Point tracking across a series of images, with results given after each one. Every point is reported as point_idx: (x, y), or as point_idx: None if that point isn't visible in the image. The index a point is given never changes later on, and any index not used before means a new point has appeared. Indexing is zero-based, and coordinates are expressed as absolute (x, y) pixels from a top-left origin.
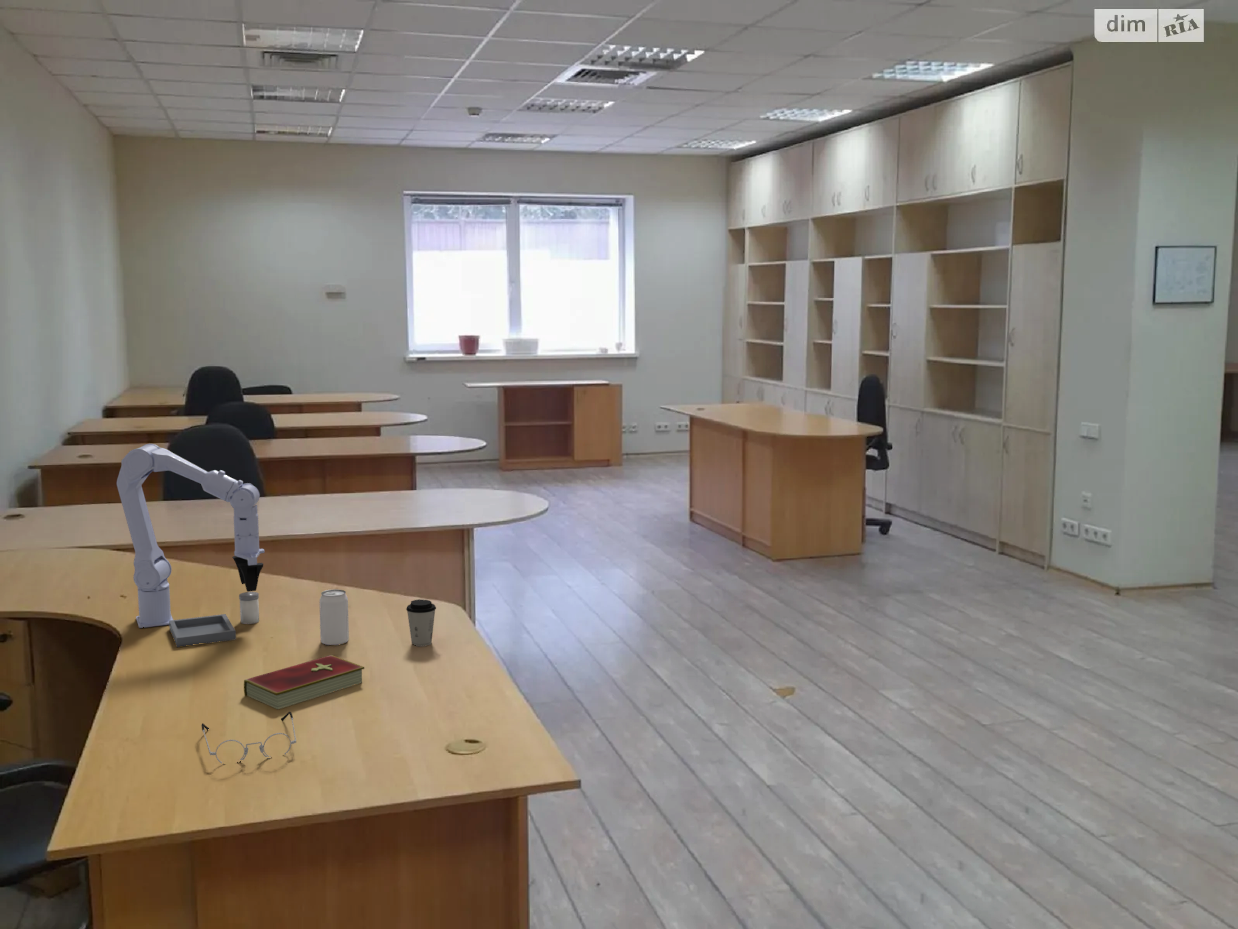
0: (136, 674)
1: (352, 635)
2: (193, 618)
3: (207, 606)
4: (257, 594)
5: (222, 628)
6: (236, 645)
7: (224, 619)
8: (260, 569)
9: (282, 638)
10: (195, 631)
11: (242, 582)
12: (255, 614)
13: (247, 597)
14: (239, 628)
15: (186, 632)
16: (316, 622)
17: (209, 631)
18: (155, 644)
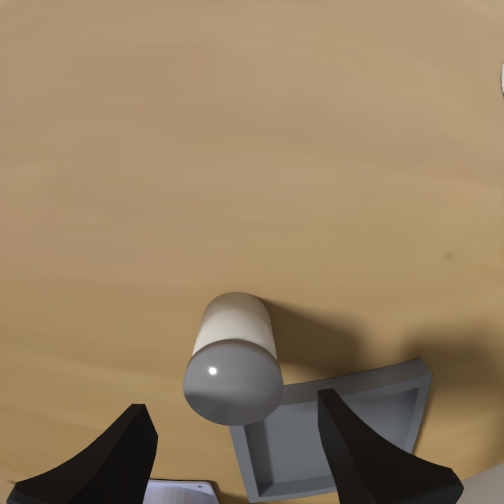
0: (481, 462)
1: (486, 31)
2: (248, 472)
3: (52, 406)
4: (251, 356)
5: None
6: (460, 350)
7: (295, 413)
8: (432, 466)
9: (468, 226)
10: (315, 452)
11: (155, 441)
12: (266, 320)
13: (282, 396)
14: (311, 356)
15: (315, 465)
16: (336, 76)
17: None
18: None
